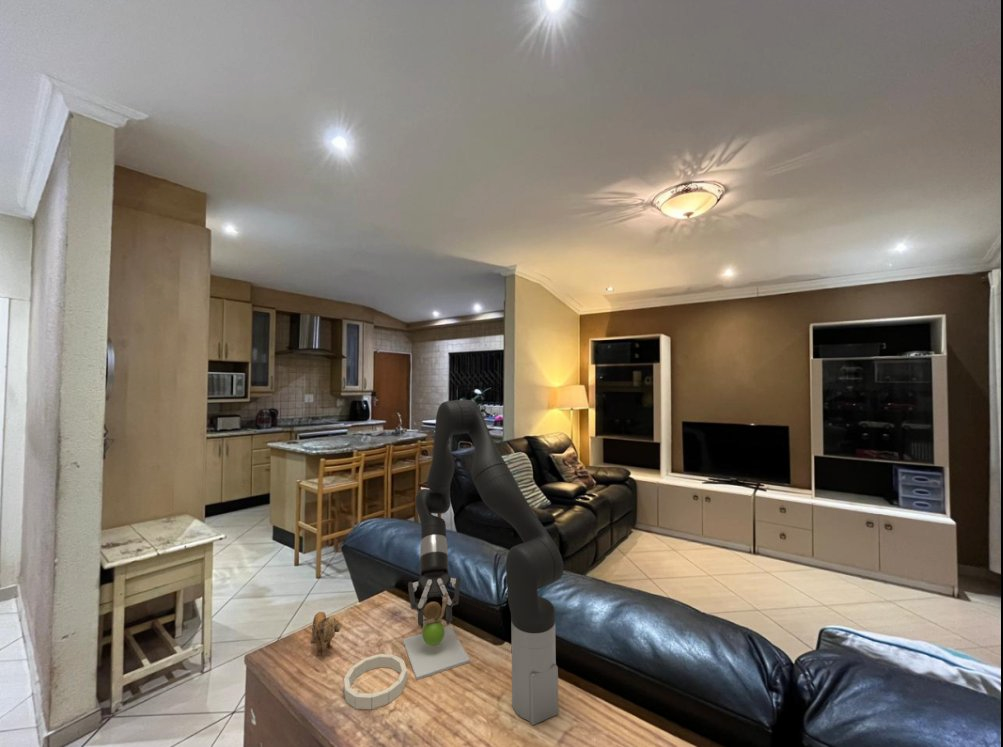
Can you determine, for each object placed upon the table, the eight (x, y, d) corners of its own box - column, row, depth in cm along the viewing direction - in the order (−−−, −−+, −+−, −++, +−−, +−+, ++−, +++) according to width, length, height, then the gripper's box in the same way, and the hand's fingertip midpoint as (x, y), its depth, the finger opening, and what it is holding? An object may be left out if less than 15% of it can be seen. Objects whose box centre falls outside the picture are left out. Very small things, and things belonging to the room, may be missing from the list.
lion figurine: (344, 653, 99) (344, 616, 99) (322, 663, 95) (322, 625, 96) (321, 627, 110) (321, 594, 110) (301, 636, 106) (301, 602, 106)
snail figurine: (450, 646, 98) (450, 597, 98) (424, 653, 96) (424, 603, 96) (445, 633, 103) (445, 587, 103) (420, 639, 101) (420, 592, 101)
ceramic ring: (411, 695, 85) (411, 684, 85) (347, 718, 80) (347, 706, 80) (399, 658, 97) (399, 648, 97) (342, 675, 91) (342, 664, 91)
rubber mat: (470, 662, 95) (470, 659, 95) (416, 680, 90) (416, 677, 90) (450, 627, 109) (450, 625, 109) (402, 641, 103) (402, 638, 103)
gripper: (406, 552, 106) (404, 624, 94) (460, 548, 109) (465, 617, 97) (407, 563, 111) (405, 633, 99) (459, 559, 114) (463, 626, 102)
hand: (435, 625), depth 98 cm, fingers closed on snail figurine, 5 cm apart
